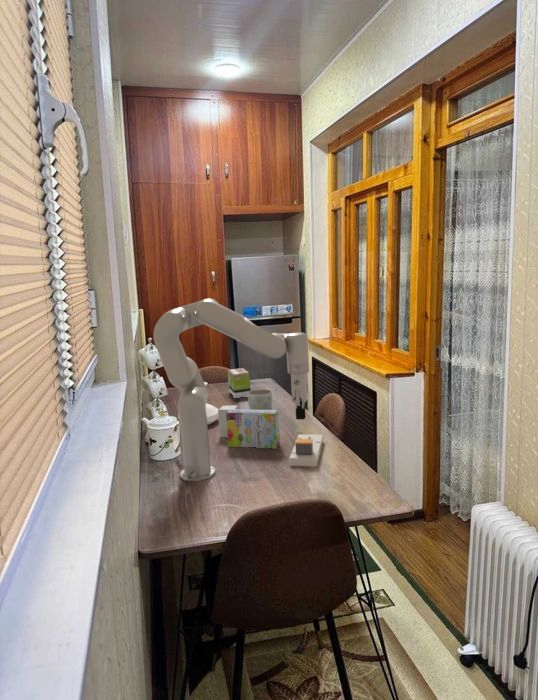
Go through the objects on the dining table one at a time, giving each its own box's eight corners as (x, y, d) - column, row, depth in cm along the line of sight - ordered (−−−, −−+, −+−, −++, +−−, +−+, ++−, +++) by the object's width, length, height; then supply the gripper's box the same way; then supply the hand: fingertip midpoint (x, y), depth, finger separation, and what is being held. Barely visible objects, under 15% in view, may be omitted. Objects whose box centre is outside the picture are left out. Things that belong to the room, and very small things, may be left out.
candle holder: (181, 418, 250) (177, 381, 246) (220, 415, 251) (218, 378, 248) (176, 430, 230) (173, 390, 227) (219, 427, 231) (216, 387, 228)
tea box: (228, 393, 295) (227, 369, 292) (245, 391, 298) (243, 367, 295) (234, 399, 281) (232, 373, 278) (251, 397, 284) (250, 371, 281)
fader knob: (312, 454, 183) (311, 442, 182) (295, 454, 184) (295, 442, 183) (313, 450, 186) (312, 439, 185) (297, 450, 187) (296, 438, 187)
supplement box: (235, 437, 216) (233, 409, 214) (219, 437, 217) (217, 409, 215) (240, 432, 223) (238, 405, 221) (224, 432, 224) (222, 405, 222)
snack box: (280, 444, 204) (278, 409, 202) (277, 449, 199) (275, 413, 197) (232, 442, 210) (229, 408, 208) (227, 447, 205) (225, 412, 202)
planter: (276, 413, 248) (275, 392, 246) (253, 417, 243) (252, 396, 242) (267, 408, 259) (266, 387, 258) (245, 411, 255) (244, 391, 253)
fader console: (316, 466, 180) (316, 458, 179) (289, 465, 182) (289, 457, 181) (323, 441, 205) (322, 434, 204) (299, 441, 207) (298, 434, 206)
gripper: (306, 372, 165) (309, 425, 168) (311, 363, 179) (313, 412, 182) (284, 372, 166) (287, 425, 169) (290, 364, 181) (293, 412, 184)
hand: (300, 418), depth 176 cm, fingers closed
